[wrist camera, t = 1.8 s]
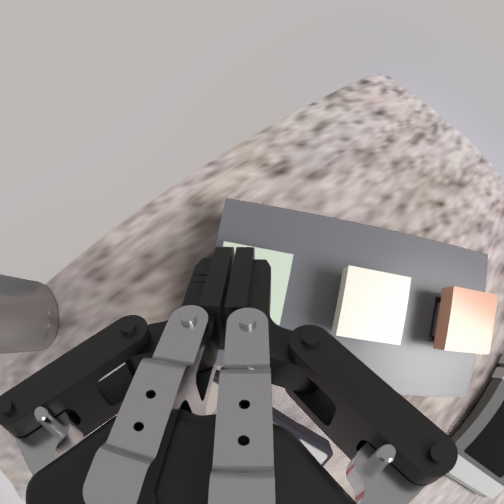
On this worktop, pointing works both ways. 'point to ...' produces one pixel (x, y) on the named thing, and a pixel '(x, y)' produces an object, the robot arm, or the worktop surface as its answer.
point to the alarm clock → (483, 441)
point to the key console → (370, 257)
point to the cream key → (371, 305)
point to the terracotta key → (464, 320)
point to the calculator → (310, 439)
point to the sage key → (273, 276)
